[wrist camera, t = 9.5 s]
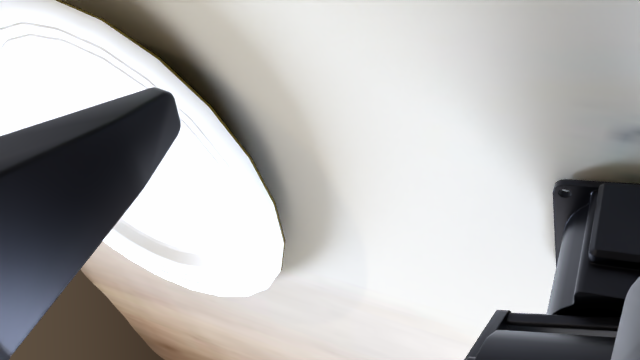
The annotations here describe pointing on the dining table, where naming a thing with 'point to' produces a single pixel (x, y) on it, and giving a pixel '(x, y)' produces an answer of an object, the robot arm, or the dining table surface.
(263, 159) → the dining table surface
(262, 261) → the plate
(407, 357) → the dining table surface
